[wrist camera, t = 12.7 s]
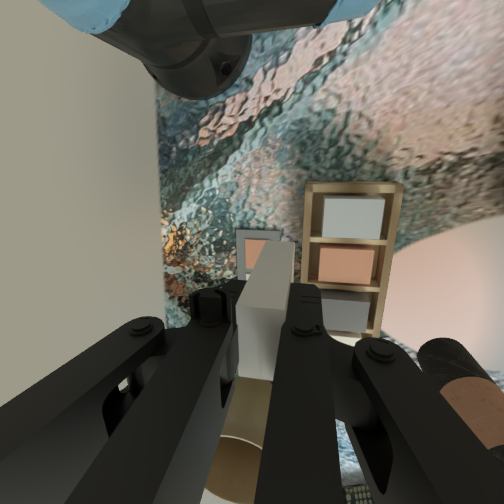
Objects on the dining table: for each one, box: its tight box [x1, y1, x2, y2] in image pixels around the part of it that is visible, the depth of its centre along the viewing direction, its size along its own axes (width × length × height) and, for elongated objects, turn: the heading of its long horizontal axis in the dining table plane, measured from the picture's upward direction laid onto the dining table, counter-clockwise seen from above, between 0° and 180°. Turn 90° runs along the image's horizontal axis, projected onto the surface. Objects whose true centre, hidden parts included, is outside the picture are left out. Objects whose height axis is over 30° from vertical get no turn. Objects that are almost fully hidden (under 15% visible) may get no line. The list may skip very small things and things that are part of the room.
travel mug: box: [417, 338, 504, 468], centre depth 36 cm, size 8×8×20 cm
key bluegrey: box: [321, 195, 385, 239], centre depth 36 cm, size 7×5×3 cm
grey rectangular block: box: [320, 289, 370, 333], centre depth 41 cm, size 7×5×3 cm
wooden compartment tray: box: [300, 181, 405, 338], centre depth 42 cm, size 12×29×4 cm, turn 1°
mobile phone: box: [342, 484, 375, 504], centre depth 58 cm, size 5×3×15 cm
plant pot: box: [204, 376, 272, 504], centre depth 48 cm, size 15×15×16 cm
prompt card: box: [236, 229, 280, 280], centre depth 46 cm, size 7×14×1 cm, turn 1°
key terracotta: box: [318, 242, 375, 284], centre depth 40 cm, size 7×5×3 cm
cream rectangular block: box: [326, 329, 362, 346], centre depth 45 cm, size 7×5×3 cm
